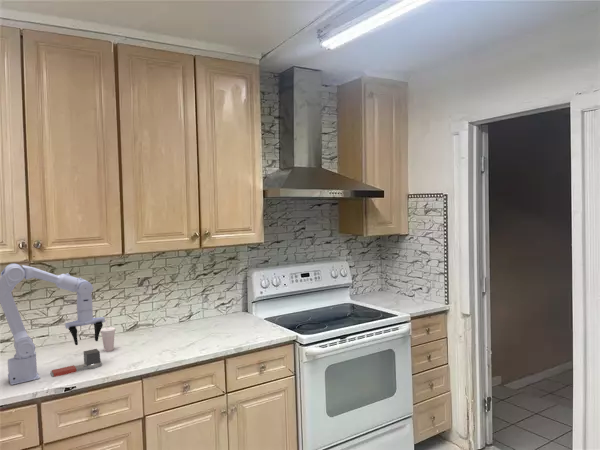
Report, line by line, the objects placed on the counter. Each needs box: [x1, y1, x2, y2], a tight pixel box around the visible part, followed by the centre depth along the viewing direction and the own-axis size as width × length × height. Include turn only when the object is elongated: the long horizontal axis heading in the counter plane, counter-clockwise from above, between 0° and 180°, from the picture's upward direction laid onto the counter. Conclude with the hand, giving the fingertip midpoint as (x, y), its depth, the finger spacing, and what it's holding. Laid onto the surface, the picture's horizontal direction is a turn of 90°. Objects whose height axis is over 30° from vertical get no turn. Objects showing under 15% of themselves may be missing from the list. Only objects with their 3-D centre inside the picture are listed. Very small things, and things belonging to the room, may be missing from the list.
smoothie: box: [100, 319, 116, 353], centre depth 208 cm, size 6×6×14 cm
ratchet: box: [50, 359, 103, 378], centre depth 185 cm, size 18×6×4 cm, turn 127°
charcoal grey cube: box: [83, 348, 101, 365], centre depth 188 cm, size 5×5×4 cm
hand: (86, 342), depth 189 cm, fingers open, 7 cm apart
